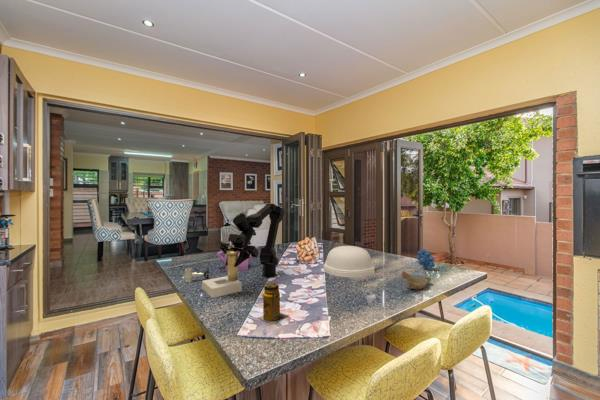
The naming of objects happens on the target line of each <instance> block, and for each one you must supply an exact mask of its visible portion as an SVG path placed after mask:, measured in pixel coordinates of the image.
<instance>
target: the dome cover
mask: <svg viewBox="0 0 600 400" xmlns="http://www.w3.org/2000/svg"><path fill="white" fill-rule="evenodd" d="M375 269H376V268H375V265H374V264H373V262H372V258H371V256H370V253H369V252H368V251H367V250H366V249H365V248H362V247H360V246H354V245H341V246H336V247H333V248H331V249H330V251H329V252H328V254H327V256H326V260H325V262H324V264H323V271H324V272H325V273H326V274H328V275H332V276H333V277H340V278H352V279H353V278H366V277H370V276H373V275H374V276H375V275H376V270H375Z"/></svg>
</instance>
